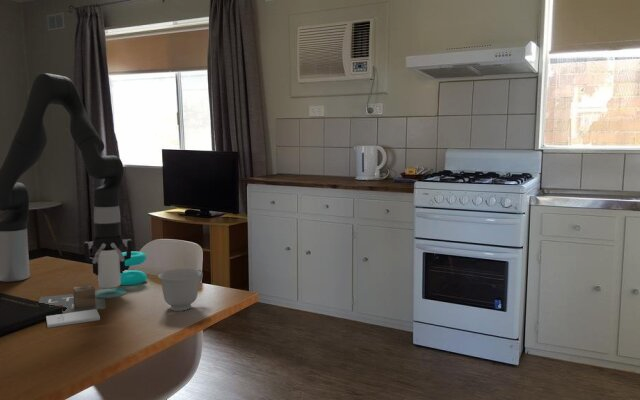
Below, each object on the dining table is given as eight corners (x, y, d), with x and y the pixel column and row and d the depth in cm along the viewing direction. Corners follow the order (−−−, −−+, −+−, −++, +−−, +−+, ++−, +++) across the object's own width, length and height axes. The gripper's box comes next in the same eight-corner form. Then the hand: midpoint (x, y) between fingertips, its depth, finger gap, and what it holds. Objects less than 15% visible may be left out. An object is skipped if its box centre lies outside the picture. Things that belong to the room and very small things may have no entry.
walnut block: (73, 304, 149) (73, 287, 149) (92, 301, 152) (91, 284, 152) (76, 308, 145) (75, 291, 145) (95, 305, 148) (94, 288, 148)
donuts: (115, 257, 167) (113, 251, 176) (116, 287, 168) (114, 280, 177) (148, 255, 171) (144, 249, 180) (148, 284, 172) (145, 277, 181)
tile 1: (40, 297, 156) (40, 297, 156) (80, 293, 161) (80, 293, 161) (36, 308, 146) (36, 307, 146) (79, 303, 150) (79, 303, 150)
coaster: (92, 291, 163) (92, 289, 163) (126, 288, 167) (126, 286, 167) (92, 300, 154) (92, 298, 154) (127, 296, 158) (127, 294, 158)
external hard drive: (100, 322, 137) (47, 330, 130) (96, 314, 144) (46, 321, 137) (100, 316, 136) (47, 324, 130) (96, 308, 143) (45, 315, 137)
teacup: (217, 303, 152) (217, 269, 151) (182, 317, 139) (181, 281, 138) (186, 297, 158) (186, 265, 157) (149, 310, 145) (148, 275, 144)
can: (124, 283, 163) (123, 246, 162) (114, 289, 157) (113, 250, 156) (105, 283, 164) (103, 246, 163) (94, 288, 158) (92, 250, 156)
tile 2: (64, 302, 152) (64, 301, 152) (105, 298, 156) (104, 297, 156) (62, 313, 142) (62, 313, 142) (105, 309, 146) (105, 308, 146)
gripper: (131, 218, 165) (132, 269, 166) (81, 220, 159) (84, 273, 161) (132, 221, 158) (134, 274, 159) (81, 223, 152) (83, 278, 154)
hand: (109, 273), depth 160 cm, fingers closed on can, 6 cm apart
